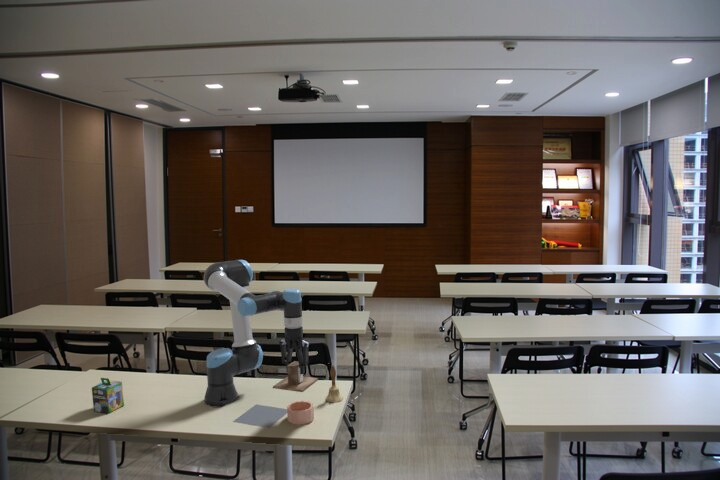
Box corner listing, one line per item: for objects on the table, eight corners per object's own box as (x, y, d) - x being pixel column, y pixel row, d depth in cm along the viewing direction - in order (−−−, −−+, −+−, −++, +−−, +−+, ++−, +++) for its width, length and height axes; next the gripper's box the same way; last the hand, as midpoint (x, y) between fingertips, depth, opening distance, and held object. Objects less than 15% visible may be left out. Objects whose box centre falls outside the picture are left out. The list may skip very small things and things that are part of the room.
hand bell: (328, 404, 226) (328, 370, 225) (322, 397, 234) (321, 364, 232) (345, 400, 230) (344, 367, 228) (339, 394, 237) (338, 361, 236)
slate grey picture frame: (232, 422, 210) (232, 421, 209) (256, 405, 226) (256, 404, 226) (269, 429, 203) (269, 428, 203) (290, 411, 220) (290, 409, 220)
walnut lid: (272, 388, 206) (271, 367, 205) (289, 376, 219) (288, 357, 218) (302, 392, 201) (301, 371, 200) (318, 380, 213) (317, 360, 213)
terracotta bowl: (283, 423, 208) (282, 409, 208) (294, 412, 218) (294, 399, 218) (306, 427, 204) (306, 413, 204) (317, 415, 215) (317, 402, 214)
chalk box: (124, 405, 229) (122, 374, 228) (108, 414, 221) (106, 382, 219) (109, 403, 232) (106, 372, 231) (92, 411, 224) (90, 379, 222)
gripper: (271, 327, 207) (273, 381, 209) (307, 330, 201) (309, 386, 203) (280, 322, 214) (282, 375, 216) (315, 325, 208) (317, 379, 210)
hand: (295, 380), depth 210 cm, fingers closed on walnut lid, 4 cm apart
